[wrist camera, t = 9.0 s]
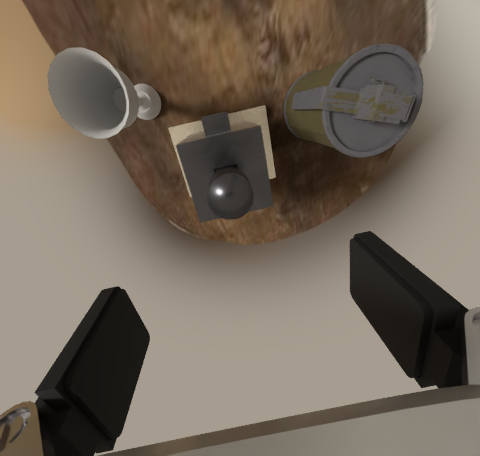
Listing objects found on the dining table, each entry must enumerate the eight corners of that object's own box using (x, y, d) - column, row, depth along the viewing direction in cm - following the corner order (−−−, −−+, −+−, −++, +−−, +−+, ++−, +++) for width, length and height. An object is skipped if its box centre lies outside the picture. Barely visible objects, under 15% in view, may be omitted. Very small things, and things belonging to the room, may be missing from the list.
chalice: (173, 122, 40) (141, 130, 24) (133, 131, 40) (74, 145, 24) (157, 70, 36) (107, 38, 20) (114, 80, 37) (30, 57, 20)
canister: (353, 76, 39) (468, 46, 21) (334, 143, 43) (415, 167, 25) (288, 65, 37) (350, 23, 19) (275, 136, 42) (317, 155, 24)
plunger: (238, 133, 39) (257, 156, 19) (245, 168, 41) (268, 220, 22) (203, 141, 39) (187, 172, 19) (212, 176, 41) (206, 234, 22)
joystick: (263, 101, 39) (292, 96, 24) (274, 176, 45) (303, 211, 29) (168, 124, 40) (135, 133, 24) (191, 195, 45) (175, 239, 30)
